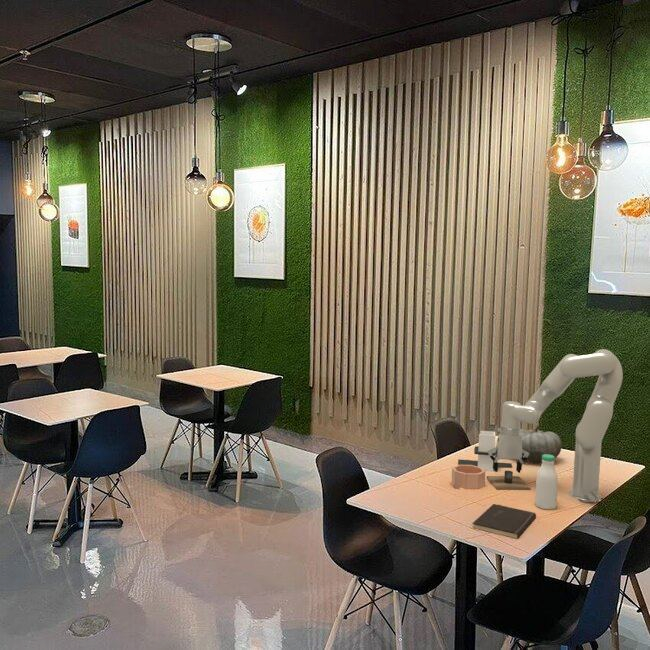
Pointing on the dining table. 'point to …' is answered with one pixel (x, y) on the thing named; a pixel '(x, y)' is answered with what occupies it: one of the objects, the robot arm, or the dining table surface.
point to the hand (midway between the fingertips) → (506, 471)
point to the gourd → (540, 444)
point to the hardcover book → (504, 521)
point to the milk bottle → (546, 484)
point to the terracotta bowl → (468, 477)
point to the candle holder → (485, 453)
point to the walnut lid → (508, 482)
